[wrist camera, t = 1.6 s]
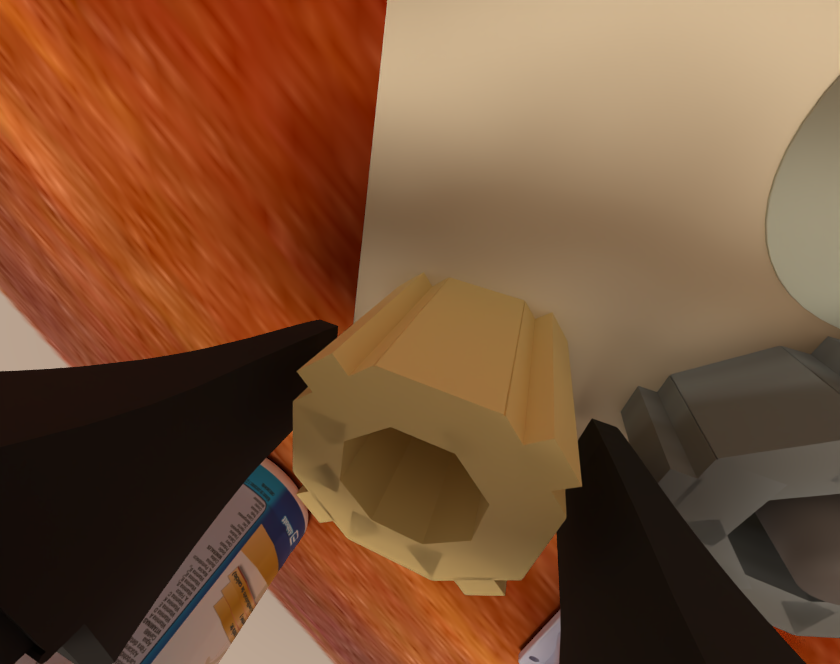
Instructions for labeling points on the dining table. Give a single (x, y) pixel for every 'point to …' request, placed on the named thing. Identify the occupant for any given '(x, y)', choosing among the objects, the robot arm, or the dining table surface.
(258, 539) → the blue pill bottle
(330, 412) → the ochre gear
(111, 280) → the dining table surface
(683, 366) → the gear board
